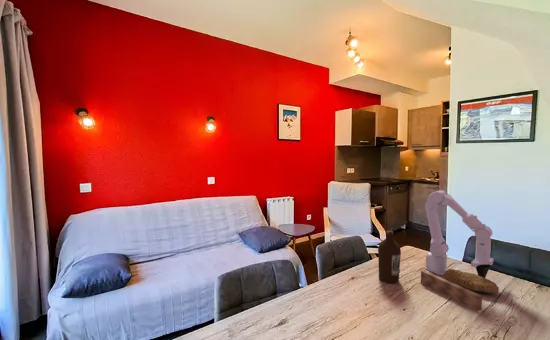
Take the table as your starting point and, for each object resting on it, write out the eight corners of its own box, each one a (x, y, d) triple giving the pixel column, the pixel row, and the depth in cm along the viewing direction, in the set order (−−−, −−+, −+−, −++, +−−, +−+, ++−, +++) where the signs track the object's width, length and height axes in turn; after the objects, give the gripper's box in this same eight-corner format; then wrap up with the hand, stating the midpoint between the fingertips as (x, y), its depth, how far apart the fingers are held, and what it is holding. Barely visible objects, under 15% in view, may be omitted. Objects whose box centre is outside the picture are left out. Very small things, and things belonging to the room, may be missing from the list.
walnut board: (420, 282, 132) (421, 271, 132) (424, 281, 133) (424, 270, 133) (477, 311, 108) (478, 297, 108) (481, 309, 109) (482, 295, 109)
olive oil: (373, 278, 137) (374, 230, 136) (385, 272, 143) (386, 227, 141) (392, 286, 128) (393, 235, 127) (404, 280, 134) (405, 232, 133)
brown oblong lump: (441, 283, 134) (482, 295, 115) (441, 267, 136) (482, 276, 117) (461, 284, 138) (504, 296, 119) (461, 269, 139) (503, 277, 120)
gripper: (483, 256, 123) (481, 285, 124) (501, 251, 128) (499, 279, 129) (466, 251, 129) (465, 278, 130) (484, 247, 135) (483, 273, 136)
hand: (481, 278), depth 130 cm, fingers closed
